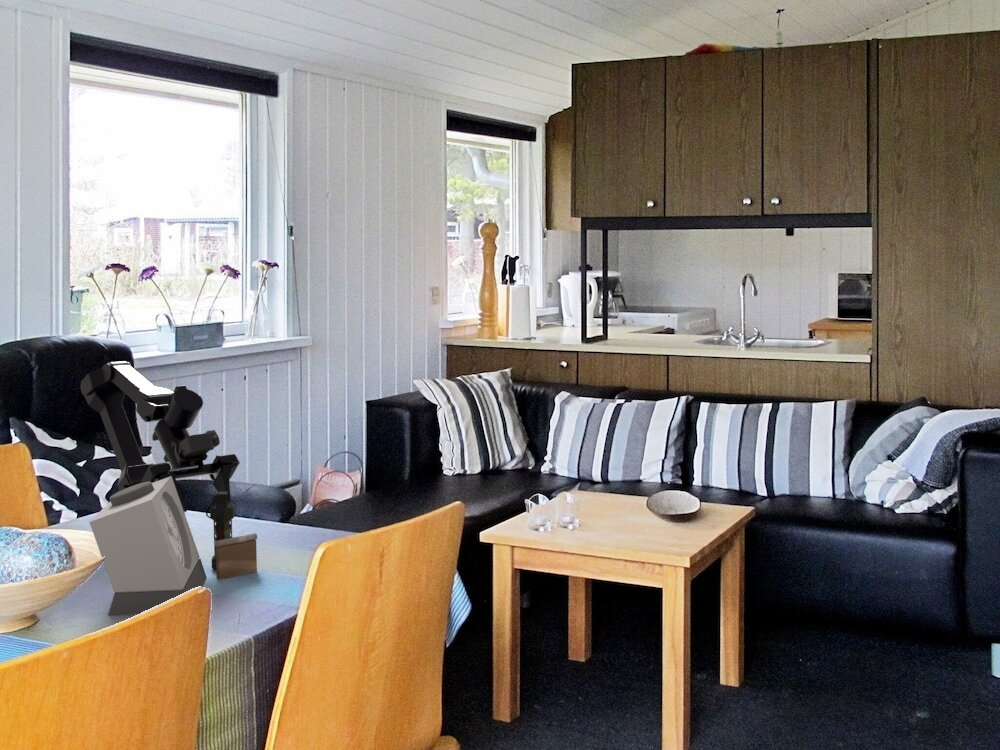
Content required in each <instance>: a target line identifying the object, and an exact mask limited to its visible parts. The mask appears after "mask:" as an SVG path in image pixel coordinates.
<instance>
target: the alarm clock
mask: <svg viewBox="0 0 1000 750" xmlns="http://www.w3.org/2000/svg"><path fill="white" fill-rule="evenodd" d="M187 519H188V518H187V517H186V512H184V511H183V508H182V505H181V502H180V499H179V496H178V493H177V490H176V488H175V485H174V482H173V479H172V476H170V477H167V478H165V479H162V480H159V481H156V482H153V483H151V482H150V481H148V482H143V483H140V484H136V485H133V486H131V487H128V488H126V489H123V490H121V491H119V492H118V491H116V492H115V493H114V494H112V495H111V496H110V497H109V502H108V503H107V504H106V505H105V506H103V508H102V509H101V510H100V511H99V512H98V513H97V514H96V515H95V516H94V517H93V518H92V519H90V521H89V525H90V528H91V530H92V534H93V536H94V539H95V542H96V544H97V548H98V550H99V553H100V556H101V558H102V557H104V556H105V557H107V558H106V559H105V561H104V562H103V565H104V567H105V570H106V573H107V576H108V578H109V581H110V585H111V588H112V590H113V592H114V593H113V597H112V601H111V604H110V607H109V611H108V613H107V614H108V615H107V616H122V615H124V616H126V615H139V614H138V613H141V612H143V611H145V610H148V609H150V608H152V607H154V606H156V605H159V604H161V603H163V602H165V601H167V600H169V599H171V598H174V597H176V596H178V595H180V594H182V593H184V592H186V591H188V590H190V589H192V588H195V587H198V586H203V587H204V585H205V582H206V581H207V579H208V576H207V574H206V571H205V568H204V565H203V563H202V560H201V559H202V558H201V556H200V554H199V550H198V548H197V545H196V541H195V540H194V536H193V535H192V532H191V528H190V525H189V522H188V520H187ZM135 613H136V614H135Z"/></svg>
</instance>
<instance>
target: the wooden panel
mask: <svg viewBox="0 0 1000 750" xmlns="http://www.w3.org/2000/svg"><path fill="white" fill-rule="evenodd" d="M257 540H258V534H257V533H256V532H255V533H249V534H244V535H239V536H232V538H228V539H223V540H218V541H215V542H214V541H213V544H214V545H215V547H216V570H215V571H216V572H215V573H216V579H217V580H219V581H221V580H223V579H228V578H233V577H237V576H242V575H246V574H249V573H251V574H252V573H254V572H258V563H257V562H258V561H257V560H258V559H257V558H258V555H257V554H258V553H257ZM214 545H213V546H214Z"/></svg>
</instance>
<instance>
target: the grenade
mask: <svg viewBox="0 0 1000 750" xmlns="http://www.w3.org/2000/svg"><path fill="white" fill-rule="evenodd" d="M228 493H229V492H217V491H216V493H215V495H213V497H212V498H210V500H209V501H207V504H205V505H204V506H203V509H202V510H203V512H205V516H206V517H207V518H208V519H211V520H212V521H213V543H214V542H215V541H218V540H223V539H228V538H233V519H234V518H235V514H236V513H235V511H236V510H235V505H233V504H236V502H235V501H233V500H232V499H231V500H230V499H229V497H228V499H229V500H228V499H227V494H228ZM228 496H230V497H231V492H230V493H229V494H228ZM227 501H230V504H227ZM231 503H233V504H231ZM208 514H209V515H208ZM213 547H214V551H213V552H214V554H213V556H212V557H211V569H212V570H213V571H216V547H215V545H213Z"/></svg>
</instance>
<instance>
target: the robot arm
mask: <svg viewBox="0 0 1000 750" xmlns="http://www.w3.org/2000/svg"><path fill="white" fill-rule="evenodd" d="M80 391H81V394H82V395H83V396H84V399H85V400H86V402H87V404H88V405H87V406H89V408H91V409H93V410H94V411H96V412H97V413H98V414H100V417H101V420H102V423H103V425H104V428H105V431H106V433H107V436H108V439H109V441H110V445H111V447H112V450H113V453H114V455H115V457H116V458H115V459H116V461H117V463H118V466H119V469H120V475H119V478H118V481H117V488H118V490H117V492H119V491H121V490H123V489H126V488H128V487H131V486H133V485H136V484H140V483H143V482H148V481H150V482H151V483H153V482H156V481H159V480H162V479H165V478H167V477H170V476H172V479H173V482H174V485H175V488H176V490H177V493H178V496H179V499H180V502H181V505H182V508H183V511H184V513H187V512H188V510H189V509H188V506H187V502H186V500H185V498H184V496H183V494H182V491H180V488H179V486H178V484H177V479H182V478H183V479H185V478H186V479H188V478H194V477H200V476H201V477H202V476H209V477H210V480H212V481H213V482H212V486H213V487H214V489H215V490H216V493H217V492H229V493H230V494H231V487H230V484H231V483H230V481H231V480H230V479H232V478H233V475H234V473H235V472H236V470H237V468H238V467H239V465H240V463H241V462H240V460H239V458H238V456H237V455H236V454H235V453H231V452H230V453H224V454H218V455H216V456H215V457H214V459H213V461H212V462H211V463H206V464H205V463H204V461H206V460H207V459H208V457H209V456H208V454H207V453H209V452H210V451H213V450H214V449H215V448H216V447H217V446H219V445H220V442H221V441H220V437H219V435H218V433H217V432H216V430H215V429H213V430H206V432H204V433H197V434H192V435H191V434H190V433H189V431H188V429H189V428H191V427H192V426H193V425H194V424H195V423H194V422H195V421H196V419H197V417H198V415H199V413H200V411H201V410H202V407H203V406H204V405H203V404H204V400H203V398H202V396H201V395H199V394H198V393H197V392H196V391H193V390H190V389H188V388H187V386H186V385H177V386H175V387H174V390H173V391H172V390H171V389H168V388H166V387H160V386H155V385H154V384H153V383H151V382H150V381H149V380H147V379H146V378H145V377H144V376H143V375H142V374H141V373H140V372H138V371H137V370H136V369H135V368H133V367H132V364H131V362H130V361H126V360H123V361H110V362H109V361H108V362H107V363H105V364H104V365H103V366H102V367H99V368H97V369H95V370H93V371H91V372H89V373H87V374H86V375H85V376H84V378H82V380H81V381H80ZM125 395H126V396H127V397H129V398H130V399H131V400H132V401H133V402H134V403H135V404H136V410H135V412H136V413H137V414H138V415H139V416H140V418H141V419H142V420H143V421H144V422H145V423H151V422H152V423H153V422H156V425H155V427H154V429H153V430H154V431H153V433H152V437H151V438H152V441H159V444H160V446H161V448H162V450H163V452H164V456H163V460H164V462H160V463H146V462H145V460H144V459H143V455H142V453H141V451H140V447H139V446H138V443H137V440H136V438H135V435H134V432H133V430H132V427H131V424H130V422H129V419H128V417H127V414H126V410H125V409H124V406H123V401H124V398H125ZM229 493H228V494H229ZM228 494H227V499H228V497H229V499H230V500H231V501H232V499H231V495H230V496H228ZM229 499H228V500H229ZM227 504H230V505H231V502H230V501H227Z"/></svg>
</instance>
